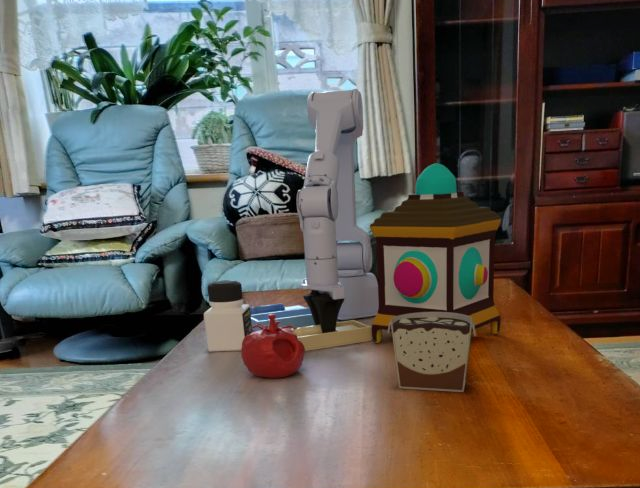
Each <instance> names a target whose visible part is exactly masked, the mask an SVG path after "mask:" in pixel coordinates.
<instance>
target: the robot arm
mask: <svg viewBox="0 0 640 488" xmlns="http://www.w3.org/2000/svg"><path fill="white" fill-rule="evenodd" d="M306 104H307V105H306V110H307V117H308V122H309V124H310V126H311V127H312V130H313V131H314V133H315V146H314V147H315V149H314V151H313V152H311V153H310V155H309V156H308V158H307V161H306V162H307V164H306V168H305V175H304V181H303V186H302V187H301V189H298V190H297V193H296V211H297V216H298V220H299V228H300V232H302V235H303V249H304V261H305V263H304V264H305V274H306V275H305V278H303V279H302V283H301V284H300V289H302V290H305V291H307V290H310V293H306V294H303V296H302V297H303V300H304V301H305V302H306V304H307V306H308V307H309V308H310V311H311V313H312V316H313V320H314V323H315V325H321V330H322V333H328V332H335V329H336V324H337V322H338V320H339V321H350V320H356V319H361V318H371V317H376V314H377V312H378V308H379V300H378V278H377V277H376V275H375V274H374V273H373V272H370V270H372V266H373V250H372V245H371V237H370V235H369V233H368V232H367V231H365V230H364V229H363V228H362V227H360V226H359V225H358V224H357V206H356V205H357V203H356V181H355V177H356V176H355V156H354V149H355V145H356V140H357V139H359V138H361V137H362V136H363V135H364V106H363V96H362V93H361V91H359V89H358V88H353V89H344V90H332V91H331V90H329V91H317V92H315V91H311V92H310V93H309V94H308V96H307V101H306ZM347 241H348V242H347ZM352 241H354V242H352Z"/></svg>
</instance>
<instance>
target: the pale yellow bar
mask: <svg viewBox="0 0 640 488" xmlns="http://www.w3.org/2000/svg"><path fill="white" fill-rule="evenodd" d="M355 328H358V327H356V326H353V325H347V326H340V327H336V329H335V331H342V330H349V329H355ZM321 333H322V330H321V325H314V326H307V327H300V328H297V329H296V330H295V332H294V334H295V335H297V337H301V336H308V335H315V334H321Z"/></svg>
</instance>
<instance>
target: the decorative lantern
mask: <svg viewBox="0 0 640 488" xmlns="http://www.w3.org/2000/svg"><path fill="white" fill-rule="evenodd" d="M415 182H416V183H415V194H414V193H412V194H408V197H407V199H405V200H403V201H401V203H400V205H398V206H396V207H395V208H394V210H393V211H385V212H382V213H381V214H380V216H379V217H377V218H375V219H374V221H373V222H372V223H370V225H369V229H370V232H371V233H372V235H373V237H374V239H375V243H376V261H377V262H376V268H377V269H376V270H377V283H378V301H379V308H378V312H377V314H376V316H374V319H373V320H372V324H371V327H372V341H373V343H375V344H380V343H381V341H382V339H383V330H385V331H388V327H389V323H391V318H393V317H396V316H399V315H404V314H410V313H419V312H451V313H459V314H464V315H467V316H469V317H471V318H472V322H473V323H474V326H475V330H477V329H479V328H481V327H484V326H486V325H489V324H490V325H489V327H490V332H491V334H493V335H497V334H498V333H499V332H500V330H501V315H500V312H499V310H498V308H497V306H496V304H495V302H494V289H495V287H494V285H495V253H496V252H495V251H496V250H495V247H496V234H497V231H498V229H499V227H500V225H501V221H502V216H499V215H498V214H497V212H496V211H492V210H491V208H490V207H489V206H479V205H478V204H477V202H474V201H472V200H471V199H470V197H468V196H465V194H464V191H457V180H456V176H455V175H454V174H453V173H452V172H451V171H450V169H448V167H446V166H445V165H444V164H441V163H436V162H434V163H433V164H430V165H428V166H427V167H426V168H424V170H422V172H421V173H420V174H419V175H418V177H417V178H416V181H415Z"/></svg>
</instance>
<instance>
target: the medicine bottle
mask: <svg viewBox="0 0 640 488" xmlns="http://www.w3.org/2000/svg"><path fill="white" fill-rule="evenodd" d="M242 286H243V285H242V283H241V282H240V281H238V280H234V279H223V280H222V279H221V280H215V281H212V282H210V283H209V284H208V285H207V287H206V288H207V294H208V296H207V297H208V304H209V306H210V308H208V309H207V310H206V311H205V312H204V313H203V321H204V328H205V329H204V330H205V337H206V343H207V344H206V345H207V352H210V353H212V352H213V353H214V352H236V351H239V352H241V348H242V342H243V339H244V338H245V337H246V336H247V335H249V334H251V333H253V331H252V329H250V328H252V324H251V314H250V308H251V305H250V304H248V303H244V297H243V287H242ZM249 329H250V330H249Z"/></svg>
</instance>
